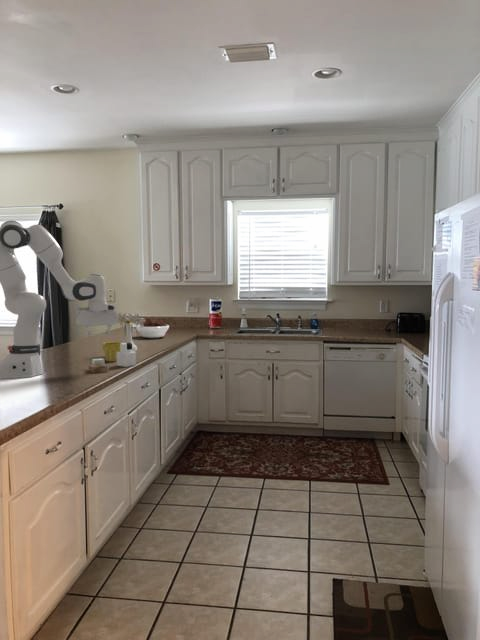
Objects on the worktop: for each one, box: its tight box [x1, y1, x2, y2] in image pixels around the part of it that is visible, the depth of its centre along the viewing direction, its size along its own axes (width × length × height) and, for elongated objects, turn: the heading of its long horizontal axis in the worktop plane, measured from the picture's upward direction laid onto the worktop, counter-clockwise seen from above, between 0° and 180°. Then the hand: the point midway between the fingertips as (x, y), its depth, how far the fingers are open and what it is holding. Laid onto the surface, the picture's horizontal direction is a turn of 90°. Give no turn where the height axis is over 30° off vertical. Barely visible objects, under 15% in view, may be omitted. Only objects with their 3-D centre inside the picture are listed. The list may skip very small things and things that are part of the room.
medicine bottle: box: [116, 342, 137, 368], centre depth 267 cm, size 7×7×12 cm
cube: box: [91, 357, 106, 365], centre depth 257 cm, size 5×5×5 cm
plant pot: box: [102, 341, 122, 362], centre depth 282 cm, size 10×10×10 cm
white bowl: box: [135, 318, 170, 339], centre depth 387 cm, size 25×25×15 cm
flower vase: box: [117, 312, 147, 352], centre depth 304 cm, size 13×18×25 cm
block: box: [88, 364, 108, 374], centre depth 250 cm, size 7×7×3 cm
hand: (98, 334), depth 255 cm, fingers open, 8 cm apart
